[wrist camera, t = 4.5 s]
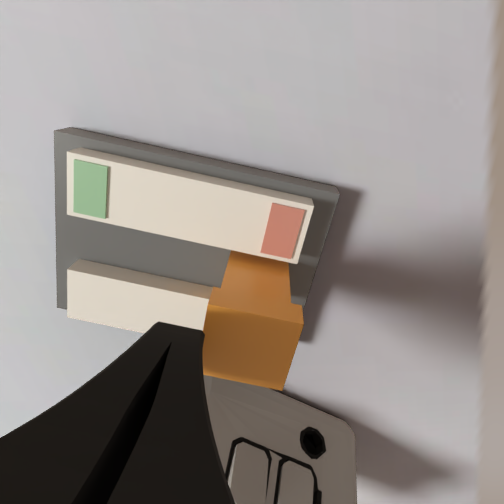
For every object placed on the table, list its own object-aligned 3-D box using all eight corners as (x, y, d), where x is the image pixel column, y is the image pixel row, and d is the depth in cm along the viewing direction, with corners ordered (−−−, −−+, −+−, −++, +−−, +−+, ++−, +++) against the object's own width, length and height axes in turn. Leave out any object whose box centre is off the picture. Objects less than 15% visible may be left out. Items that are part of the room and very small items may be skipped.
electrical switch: (355, 421, 21) (393, 662, 13) (308, 465, 23) (313, 691, 15) (203, 353, 19) (135, 573, 11) (170, 408, 22) (95, 621, 14)
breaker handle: (280, 305, 16) (282, 390, 12) (218, 291, 16) (195, 372, 12) (296, 252, 15) (303, 324, 11) (228, 237, 15) (207, 304, 10)
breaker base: (288, 339, 19) (289, 372, 16) (70, 294, 18) (43, 321, 16) (335, 186, 15) (345, 202, 13) (70, 127, 15) (36, 134, 13)
